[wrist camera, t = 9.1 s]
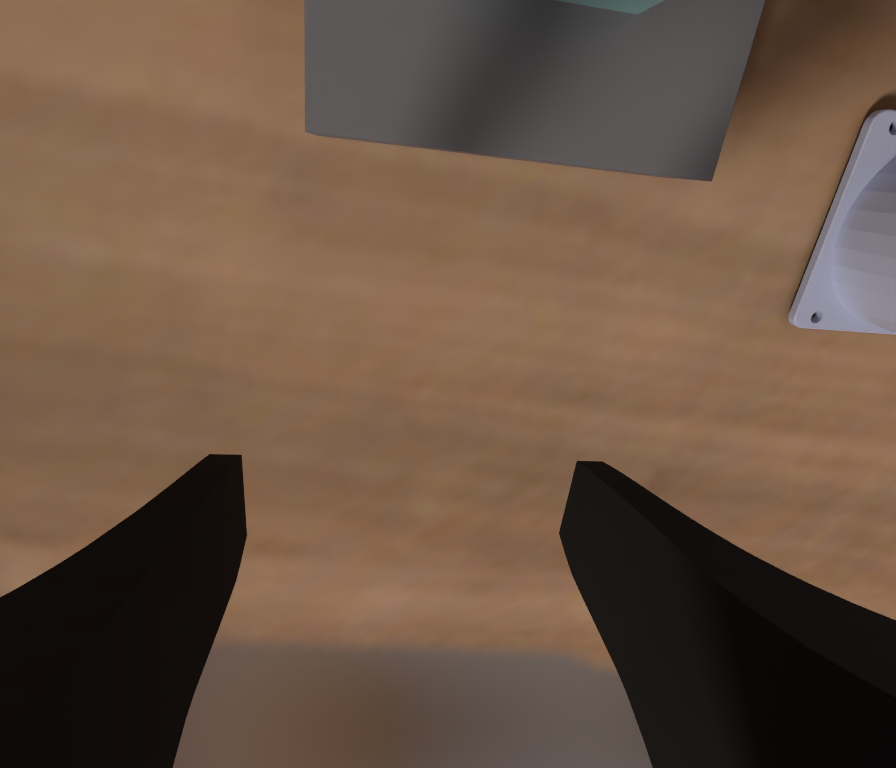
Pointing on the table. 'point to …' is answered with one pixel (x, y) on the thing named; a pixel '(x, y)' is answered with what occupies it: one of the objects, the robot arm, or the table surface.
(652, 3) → the teal block
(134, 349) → the table surface
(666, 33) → the plinth
